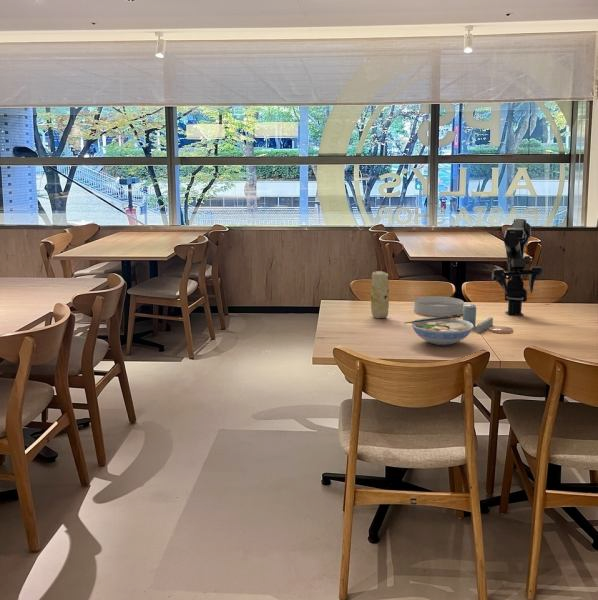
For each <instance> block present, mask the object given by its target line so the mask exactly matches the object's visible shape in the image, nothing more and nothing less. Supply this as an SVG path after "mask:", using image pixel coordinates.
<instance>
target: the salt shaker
mask: <svg viewBox="0 0 598 600" xmlns="http://www.w3.org/2000/svg"><path fill="white" fill-rule="evenodd" d="M463 307H464V310H463V314H462V320H465V321H468V322H470V323H472V324H473V326H474V327H473V329H475V328H476V326H477V325H476V323H477V322H476V321H477V306H476V304H472V303H466V304H463Z"/></svg>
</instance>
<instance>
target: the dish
mask: <svg viewBox="0 0 598 600" xmlns="http://www.w3.org/2000/svg"><path fill="white" fill-rule="evenodd" d="M413 305H414V306H413V311H414V313H416V314H418V313H419V315H423V316H429V317H443V316H450V315H456V314H457V315H460V316H461V315H463V310H464V305H465V304H464V300H462V299H461V298H456V297H451V296H440V295H439V296H438V295H437V296H436V295H435V296H434V295H433V296H432V295H431V296H421V297H418V298H415V299H414V304H413Z"/></svg>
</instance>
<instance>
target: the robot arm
mask: <svg viewBox="0 0 598 600" xmlns="http://www.w3.org/2000/svg"><path fill="white" fill-rule="evenodd" d="M513 219H514V218H513ZM531 227H532V226H531V224H529V222H527V219H525V218H515V219H514V220H513V223H512V224H511V225H510V226H509V227H508V228H507V229H506V230H505V232H504V235H503V243H504V248H505V253H506V254H505V255H506V260H507V262H506V263H507V269H508V270H507V271H506V270H505V269H504V268H494V269H493V270H492V272H491V280H492V281H495V282H496V283H498V284H499V286H501V288H502V289H503V290H504V301H507V311H504V312H505V313H506V314H507V315H508V316H525V314H524V313H523V312H522V310H523V308H522V307H523V303H526V302H527V301H528V291H527V290H526V287H525V284H524V280H523V279H522V276H529V278H528V283H529V284H528V285H529V292H530V294H532V293H533V289H534V285H535V280H537V279H538V278H540V277H541V276H542V273H543V269H542V267H541V266H539V265H538V266H530V269H526V267H527V265H530V264H531V263H532V262H531V256H530V255H525V247H526V246H527V245H528V243H529V240H530V238H531V236H532V228H531ZM524 255H525V256H524ZM506 277H510V278H509V279H508V280H507V282H506Z"/></svg>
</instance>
